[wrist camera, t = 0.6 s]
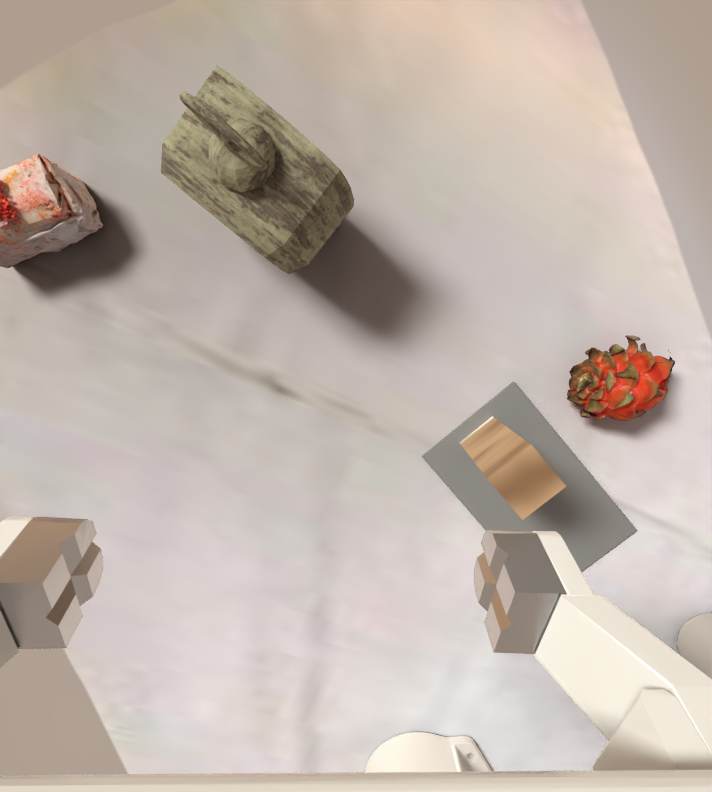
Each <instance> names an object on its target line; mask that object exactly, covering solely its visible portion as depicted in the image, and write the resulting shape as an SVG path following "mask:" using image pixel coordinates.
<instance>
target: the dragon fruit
mask: <svg viewBox="0 0 712 792" xmlns="http://www.w3.org/2000/svg"><path fill="white" fill-rule="evenodd" d="M625 337H627V339H628V343H629V347H628V349H627V350H626V351H625V349H623V348H622V347H620V346H619V345H617V344H614V345H612V346H611V347H610V349H609V351H610V352H607V351H604V352H602V351H600V350H597V349H596V348H591V349H589V350H587V351H586V352H585V354H587V355H589V359H587V360H585V361H584V362H583V363H581V364H578V365H576V366H573V368H572V369H571V371H570V374H571V376H572V378H571V379H570V380H569V386H570V390H568V393H567V396H568V398H567V399H568V400H569V401H572V402H573V403H575V404H577V405H579V406H580V405H583V406H584V409H583V410H581V411H580V415H581V417H586V418H595V419H603V418H604V417H607V416H608V417H611V418H612V419H614V420H619V421H627V420H631V419H633V418H635V417H640V416H642V415H643V414H645V413H646V411H644V410H645V409H651V408H653V407H654V406H655V405H656V404H658V403H659V402H660V401H661V400H662V399H663V398H664V397H665V396H666V393H667V391H668V389H667V383H668V381H669V377H670V374H671V371H672V367H673V366H674V364H675V361H673V360H672V358H671V357H670V359H669V360H668V359H666V358H664V357H661V356H654V357H653V355H652V353H651V352H648V351H647V349H646V346H645V343H643V344H641V350H642V351H643V352H638V345H637V343H636V341H635V340H641V339H640V338H639V337H636V336H625ZM668 351H669V350H668Z"/></svg>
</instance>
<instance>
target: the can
mask: <svg viewBox="0 0 712 792" xmlns="http://www.w3.org/2000/svg"><path fill="white" fill-rule="evenodd" d="M677 648H678V650H679V653H680V655H681V656H682V657H683V658H684V659H686V660H687V661H688V662H690V663H691V664H692V665H693V666H695V667H696V668H697V669H699V670H700V671H701V672H703V673H704V674H705V675H707V676H708V677H709V678H711V679H712V613H704V614H700V615H697V616H695V617H692V618H690V619H689V620H688V621H687V622H685V624H684V625H683V626H682V628H681V630H680V631H679V635H678V638H677Z"/></svg>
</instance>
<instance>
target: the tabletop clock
mask: <svg viewBox="0 0 712 792" xmlns="http://www.w3.org/2000/svg"><path fill="white" fill-rule="evenodd" d="M180 99H181V101H182V102H183V103H184V104H185V105H186V106H187V107H188V108H187V109H186V111H185V112H184V114H183V115H182V117H181V118H180V120H179V121H178V122H177V124H176V125H175V127H174V128H173V130H172V131H171V133H170V134H169V136H168V137H167V138H166V140H165V141H164V143H163V144H162V164H161V173H162V174H163V175H165V176H166V177H167V178H168V179H169V180H171V181H172V182H173V183H174V184H175V185H177V186H178V187H179V188H180V189H181V190H183V191H184V192H185V193H186V194H188V195H189V196H190V197H191V198H192V199H194V200H195V201H196V202H197V203H199V204H200V205H201V206H202V207H203V208H205V209H206V210H207V211H208V212H210V213H211V214H212V215H213V216H214V217H216V218H217V219H218V220H219V221H221V222H222V223H223V224H224V225H226V226H227V227H228V228H229V229H230V230H232V231H233V232H234V233H235V234H237V235H238V236H239V237H240V238H242V239H243V240H244V241H245V242H246V243H248V244H249V245H250V246H251V247H253V248H254V249H255V250H256V251H258V252H259V253H260V254H261V255H263V256H264V257H265V258H266V259H268V260H269V261H270V262H272V263H273V264H275V265H276V266H277V267H279V268H280V269H282V270H283V271H285V272H286V273H288V274H290V273H292V272H294V271H297V270H299V269H302V268H304V267H306V266H308V265H309V264H310V262H311V261H312V260H313V258H314V257H315V256H316V254H317V253H318V252H319V251H320V249H321V248H322V247H323V245H324V244H325V243H326V241H327V240H328V239H329V238H330V236H331V235H332V234H333V232H336V231H338V230H339V228H340V227H341V225H340V223H341V222H342V221H343V219H344V218H345V217H346V215H347V214H348V213H349V211H350V210H351V209H352V208H353V204H354V198H353V195H352V191H351V188H350V186H349V184H348V182H347V180H346V178H345V176H344V175H343V173H342V172H341V170H340V169H339V168H338V167H337V166H336V165H335V164H334V163H333V162H332V161H331V160H330V159H329V158H328V157H327V156H326V155H325V154H323V153H322V152H321V151H320V150H319V149H318V148H317V147H316V146H315V145H314V144H312V143H311V142H310V141H309V140H308V139H307V138H306V137H304V136H303V135H302V134H301V133H300V132H299V131H298V130H296V129H295V128H294V127H293V126H292V125H291V124H289V123H288V122H287V121H286V120H285V119H284V118H283V117H281V116H280V115H279V114H278V113H277V112H276V111H274V110H273V109H272V108H271V107H270V106H268V105H267V104H266V103H265V102H263V101H262V100H261V99H260V98H259V97H257V96H256V95H255V94H254V93H252V92H251V91H250V90H249V89H248V88H246V87H245V86H244V85H243V84H241V83H240V82H239V81H238V80H236V79H235V78H234V77H233V76H231V75H230V74H229V73H227V72H226V71H224V70H223V69H221V68H220V67H218V66H216V67H215V69H214V70H213V72H212V73H211V75H210V76H209V77H208V79H207V80H206V82H205V83H204V85H203V86H202V88H201V89H200V91H199V92H198V93H197V95H196V96H195V97H194V96H192V95H190V94H188V93H186V92H181V93H180Z"/></svg>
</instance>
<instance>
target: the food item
mask: <svg viewBox="0 0 712 792" xmlns="http://www.w3.org/2000/svg"><path fill="white" fill-rule="evenodd" d="M102 227H103V224H102V223H101V221H100V218H99V213H98V211H97V208H96V203H95V201H94V199H93V198H92V196H91V195H90V193H89V192H88V190H87V188H86V186H85V184H84V183H83V182H82V181H81V180H80V179H78V178H75V177H73V176H71V175H70V174H69V173H67V172H66V171H64V170H62V169H60V168H59V167H58V166H57V164H54V163H53V164H52V163H51V162H50V161H49V160H48V159H47V158H45V157H44V156H41V155H39V154H36V155H34V156H33V157H31V158H30V159H27V160H24V161H22V162H20V163H18V164H15V165H13V166H10V167H8V168H6V169H4V170H1V171H0V266H2V267H5V268H10V267H12V266H13V265H16V264H18V263H19V262H21V261H23V260H26V259H30V258H32V257H34V256H36V255H38V254H39V253H42V252H60V251H62V250H63V249H64V248H66V247H68V246H69V244H72V243H77V242H78V241H79V240H82V239H83V238H84V237H85V236H87V235H89V234H91V233H93V232H96V231H98V229H99V228H102Z"/></svg>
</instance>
